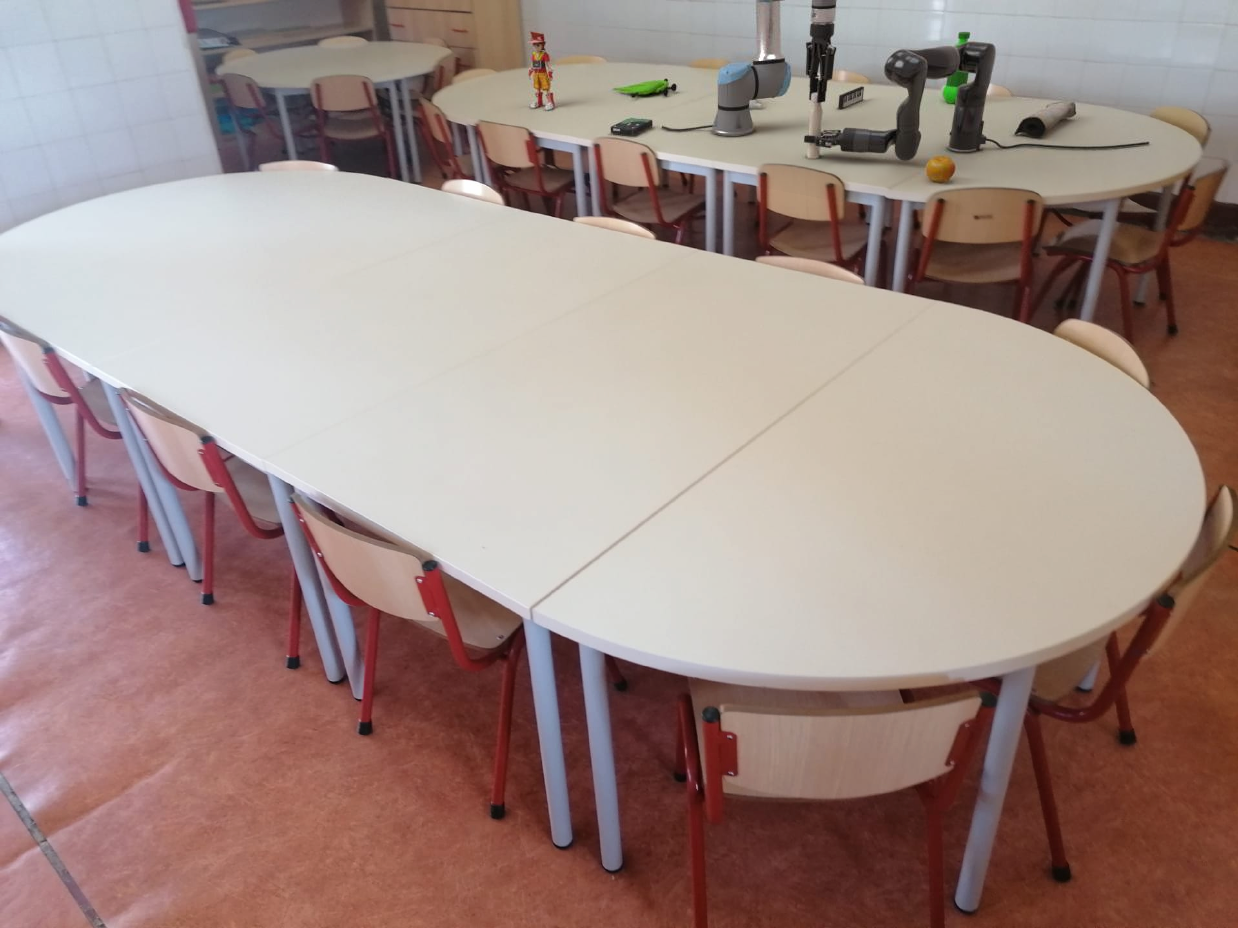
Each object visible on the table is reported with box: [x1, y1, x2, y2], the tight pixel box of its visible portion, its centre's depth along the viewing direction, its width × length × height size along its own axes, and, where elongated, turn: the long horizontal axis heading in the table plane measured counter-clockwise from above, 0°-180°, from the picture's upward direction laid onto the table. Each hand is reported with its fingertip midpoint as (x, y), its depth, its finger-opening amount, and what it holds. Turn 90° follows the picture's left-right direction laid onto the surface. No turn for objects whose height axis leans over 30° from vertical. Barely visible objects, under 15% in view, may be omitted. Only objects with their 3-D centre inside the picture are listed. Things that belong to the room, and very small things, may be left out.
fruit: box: [925, 155, 956, 183], centre depth 276 cm, size 8×8×8 cm
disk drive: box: [610, 117, 653, 136], centre depth 344 cm, size 10×3×15 cm
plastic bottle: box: [942, 31, 971, 104], centre depth 348 cm, size 10×10×25 cm
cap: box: [810, 92, 818, 103], centre depth 294 cm, size 4×4×2 cm
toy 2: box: [612, 78, 677, 99], centre depth 396 cm, size 28×5×30 cm
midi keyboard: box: [837, 85, 865, 110], centre depth 359 cm, size 18×1×5 cm, turn 138°
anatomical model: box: [749, 99, 763, 110], centre depth 365 cm, size 15×10×10 cm
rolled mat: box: [1014, 100, 1077, 139], centre depth 318 cm, size 30×9×10 cm
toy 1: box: [527, 31, 556, 111], centre depth 374 cm, size 12×9×30 cm
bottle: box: [806, 101, 824, 160], centre depth 300 cm, size 4×4×20 cm
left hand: (817, 100), depth 295 cm, fingers closed on cap, 4 cm apart
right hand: (806, 137), depth 303 cm, fingers closed on bottle, 4 cm apart
